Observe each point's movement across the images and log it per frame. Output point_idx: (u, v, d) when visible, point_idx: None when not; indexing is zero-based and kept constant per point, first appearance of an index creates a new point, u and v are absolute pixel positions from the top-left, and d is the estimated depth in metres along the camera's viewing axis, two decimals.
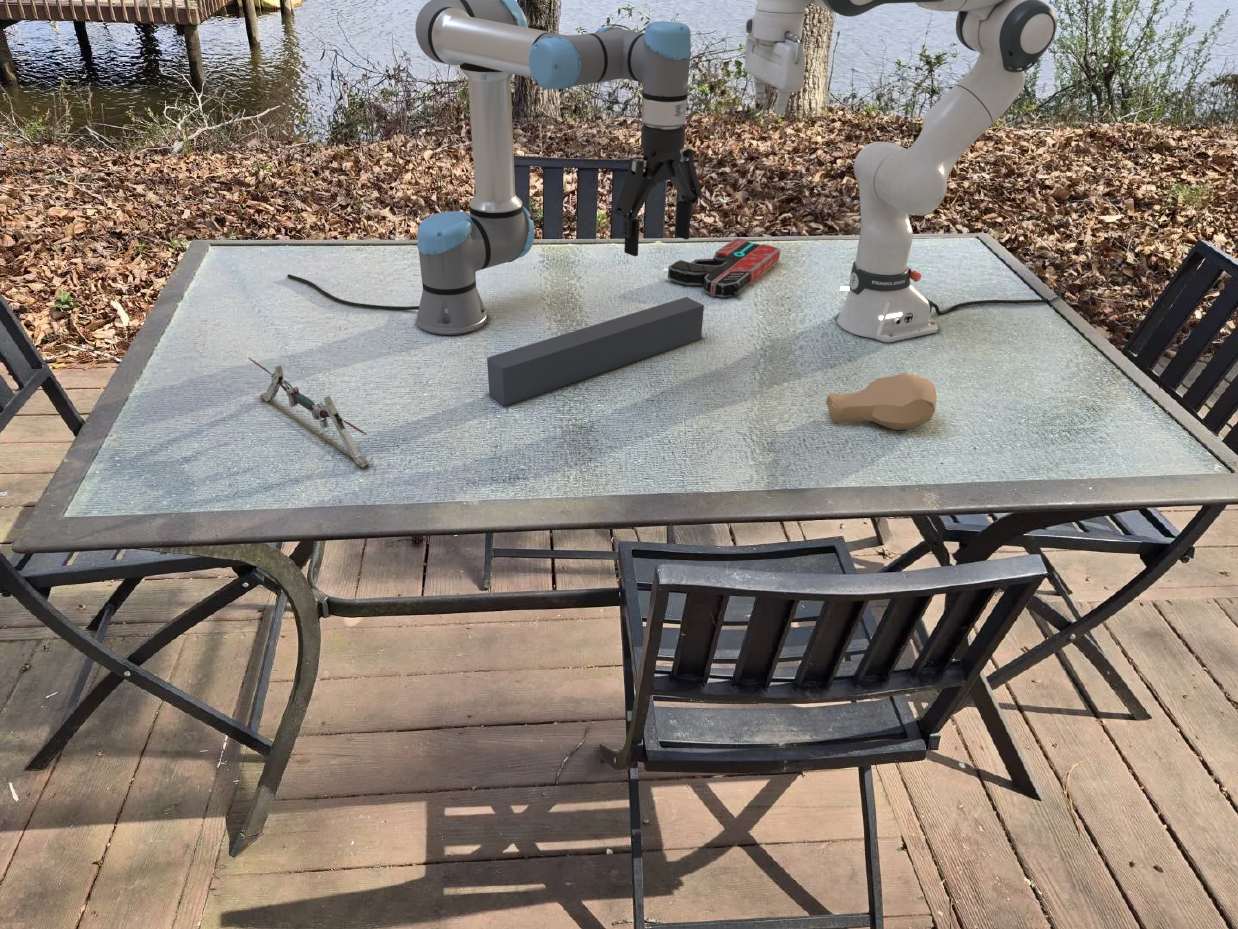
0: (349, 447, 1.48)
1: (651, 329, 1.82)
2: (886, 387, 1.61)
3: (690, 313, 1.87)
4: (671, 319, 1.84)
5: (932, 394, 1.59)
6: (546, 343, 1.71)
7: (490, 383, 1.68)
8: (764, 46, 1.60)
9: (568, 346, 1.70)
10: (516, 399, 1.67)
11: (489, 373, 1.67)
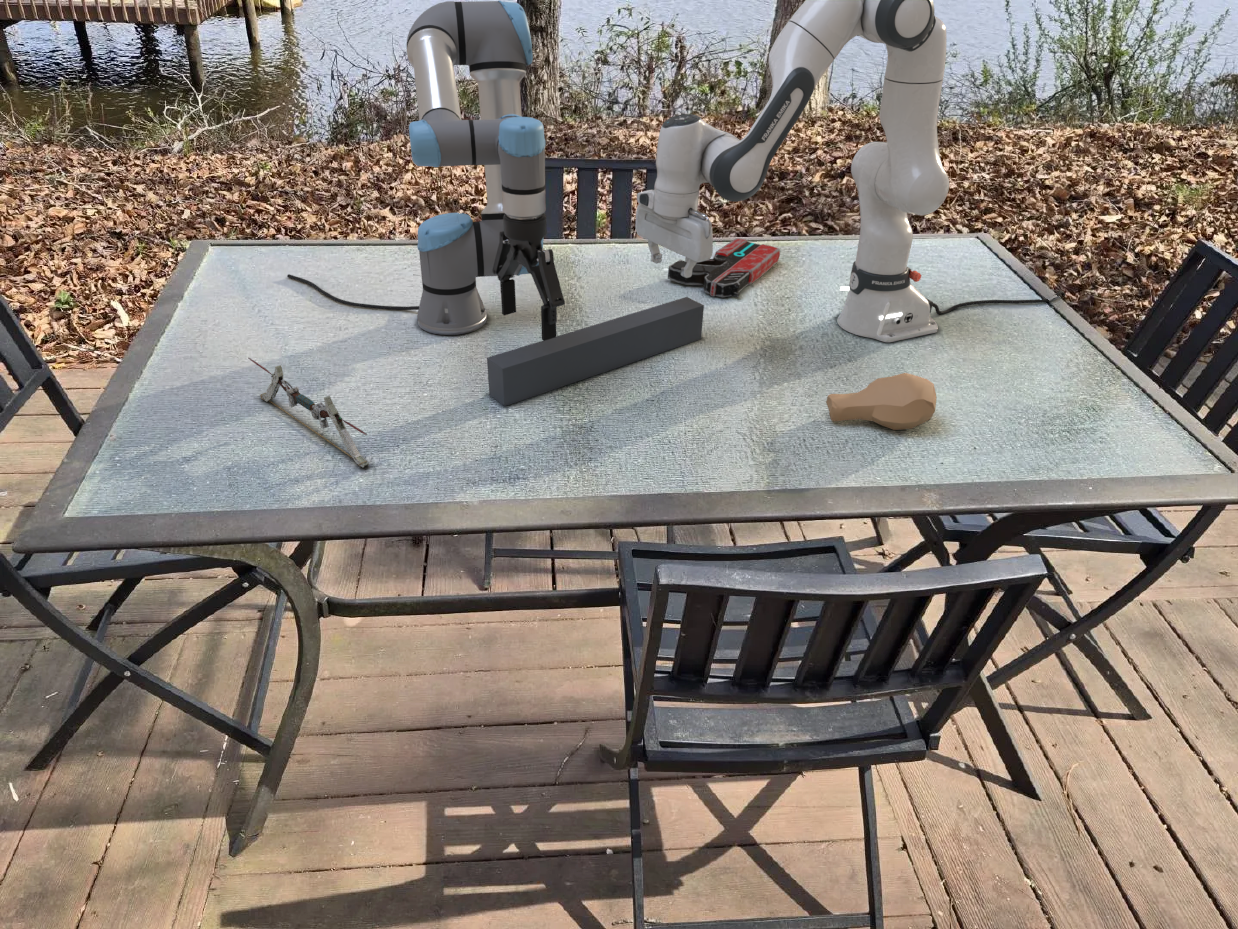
0: (349, 447, 1.48)
1: (651, 329, 1.82)
2: (886, 387, 1.61)
3: (690, 313, 1.87)
4: (671, 319, 1.84)
5: (932, 394, 1.59)
6: (546, 343, 1.71)
7: (490, 383, 1.68)
8: (668, 220, 1.73)
9: (568, 346, 1.70)
10: (516, 399, 1.67)
11: (489, 373, 1.67)
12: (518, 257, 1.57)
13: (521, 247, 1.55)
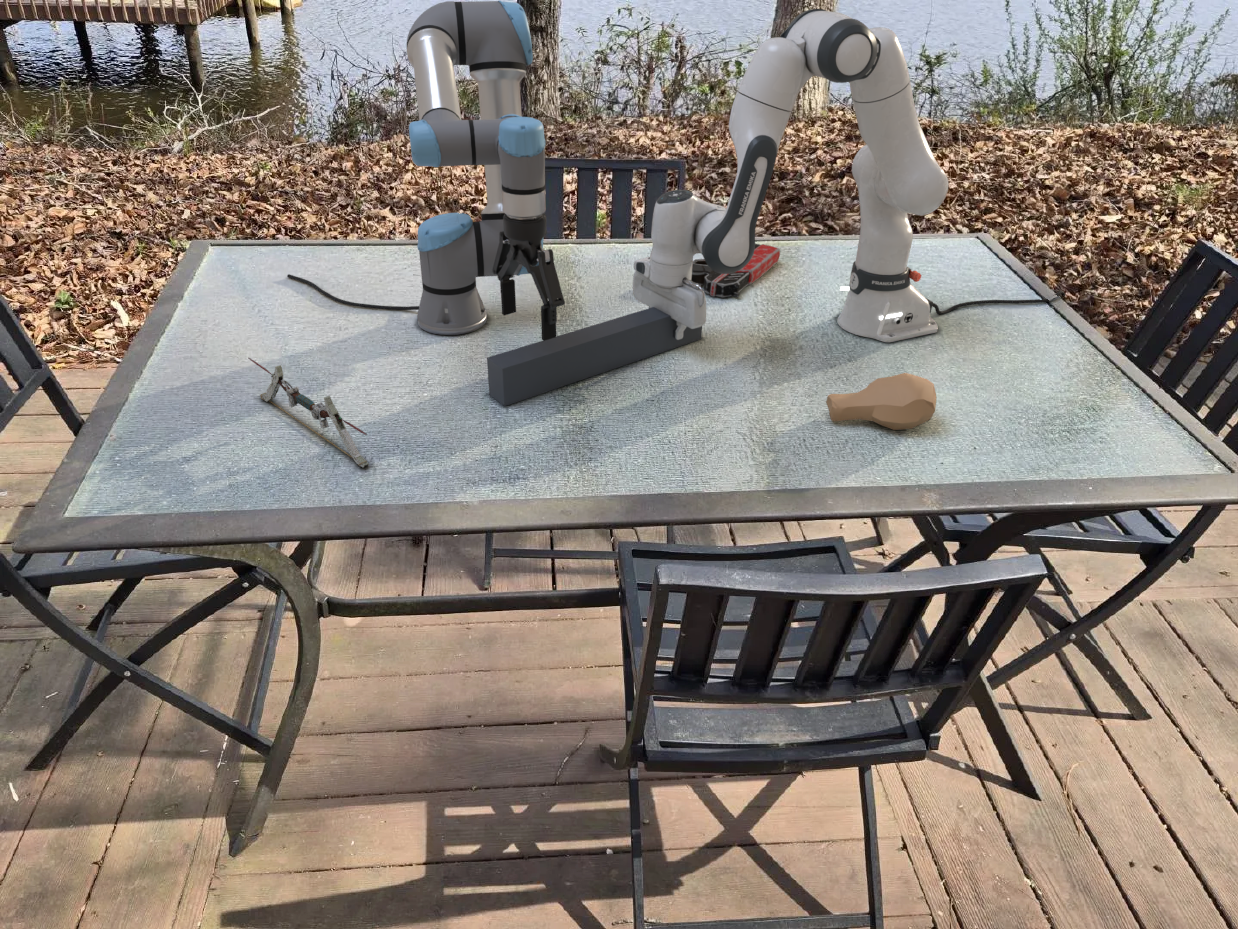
0: (349, 447, 1.48)
1: (651, 329, 1.82)
2: (886, 387, 1.61)
3: None
4: (671, 319, 1.84)
5: (932, 394, 1.59)
6: (546, 343, 1.71)
7: (490, 383, 1.68)
8: (663, 289, 1.81)
9: (568, 346, 1.70)
10: (516, 399, 1.67)
11: (489, 373, 1.67)
12: (518, 257, 1.57)
13: (521, 247, 1.55)
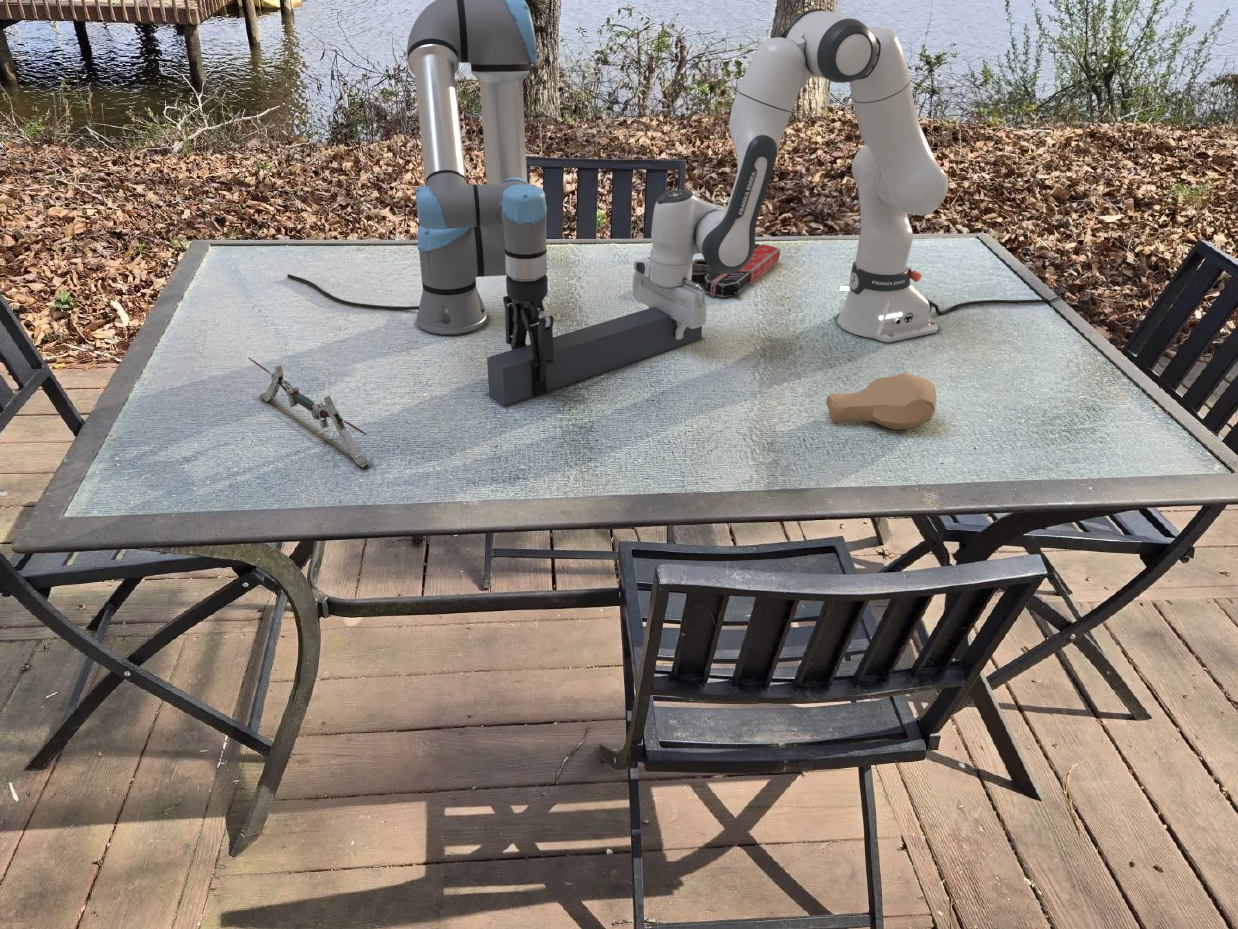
0: (349, 447, 1.48)
1: (651, 329, 1.82)
2: (886, 387, 1.61)
3: None
4: (671, 319, 1.84)
5: (932, 394, 1.59)
6: None
7: (490, 383, 1.68)
8: (663, 289, 1.81)
9: (568, 346, 1.70)
10: (516, 399, 1.67)
11: (489, 373, 1.67)
12: (520, 315, 1.63)
13: (523, 306, 1.61)
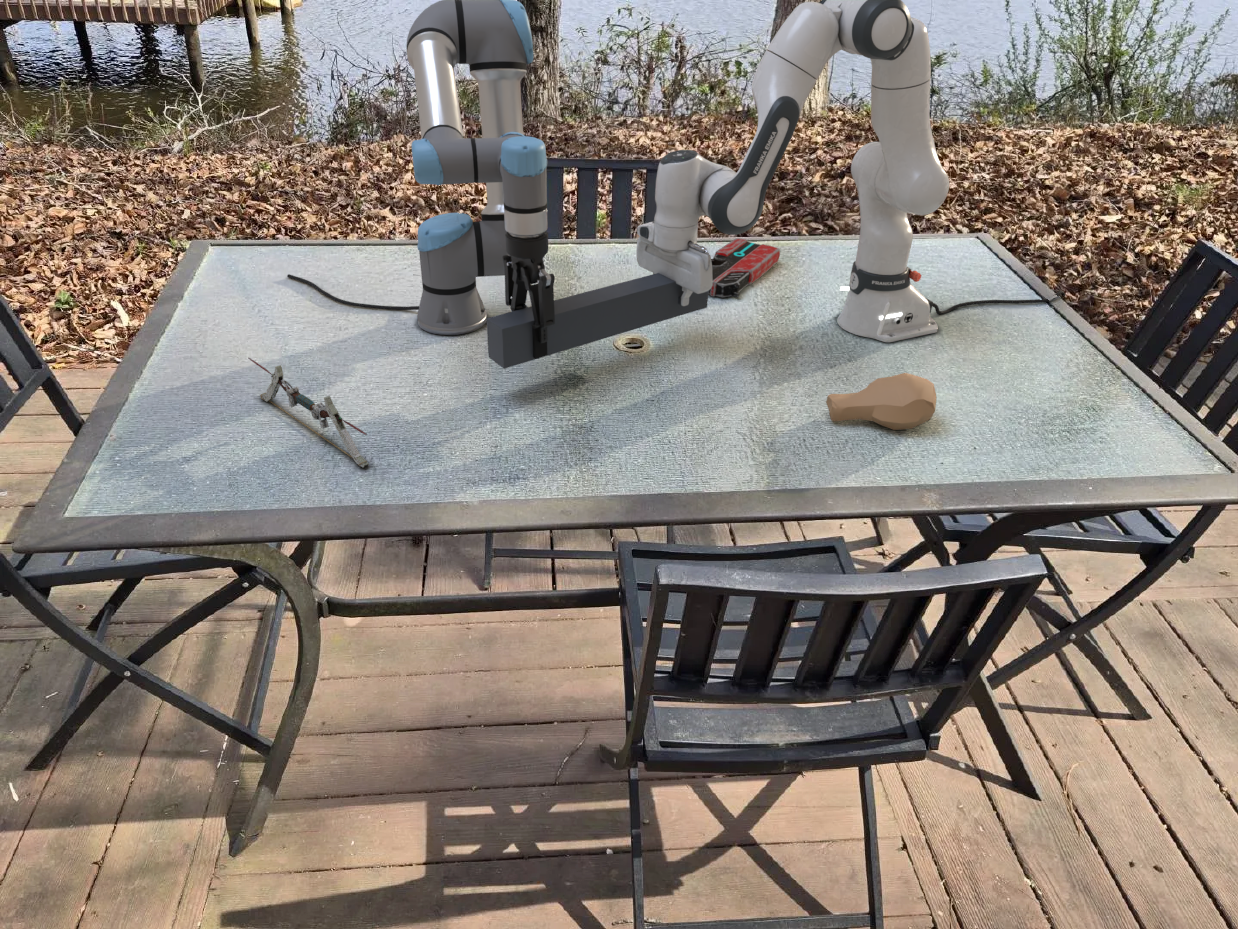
0: (349, 447, 1.48)
1: (656, 295, 1.77)
2: (886, 387, 1.61)
3: None
4: (676, 285, 1.79)
5: (932, 394, 1.59)
6: None
7: (489, 345, 1.63)
8: (668, 253, 1.76)
9: (570, 309, 1.65)
10: (516, 362, 1.63)
11: (488, 334, 1.62)
12: (520, 274, 1.59)
13: (523, 264, 1.57)
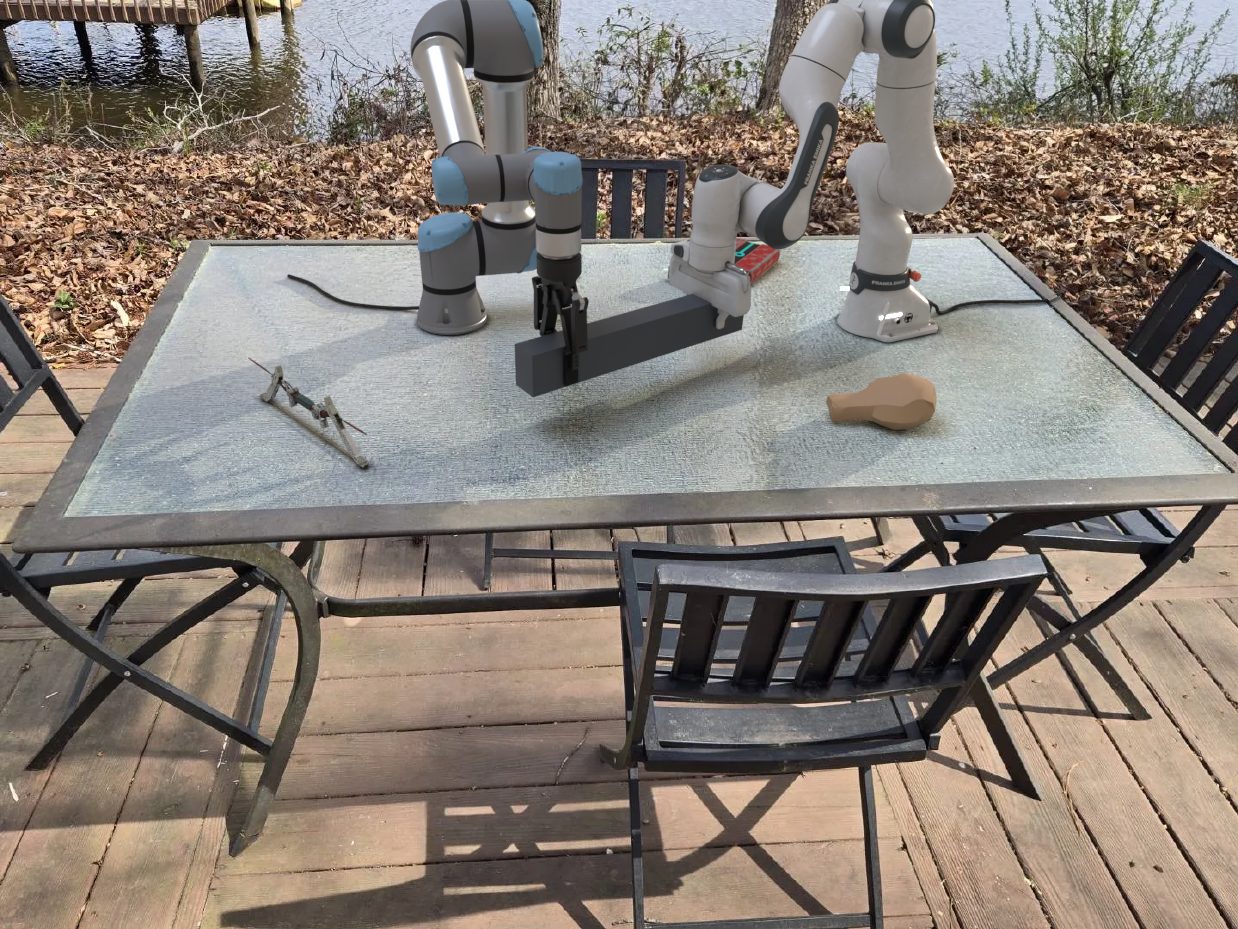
0: (349, 447, 1.48)
1: (691, 318, 1.68)
2: (886, 387, 1.61)
3: None
4: (712, 307, 1.70)
5: (932, 394, 1.59)
6: None
7: (517, 372, 1.54)
8: (704, 274, 1.67)
9: (602, 333, 1.56)
10: (545, 390, 1.53)
11: (516, 361, 1.52)
12: (551, 297, 1.49)
13: (555, 287, 1.47)
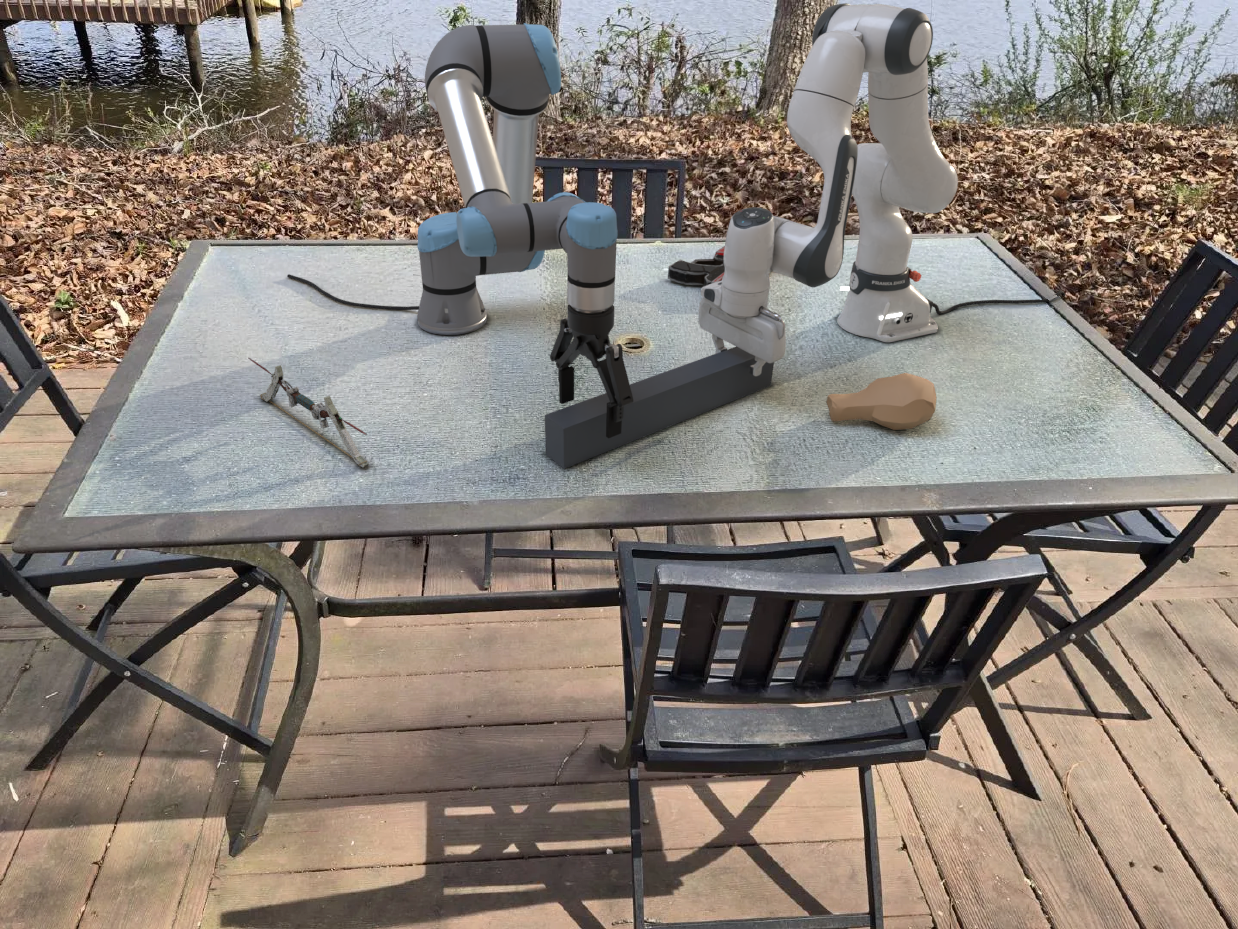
0: (349, 447, 1.48)
1: (721, 378, 1.65)
2: (886, 387, 1.61)
3: None
4: (741, 366, 1.67)
5: (932, 394, 1.59)
6: None
7: (547, 443, 1.51)
8: (737, 319, 1.62)
9: None
10: (576, 460, 1.50)
11: (547, 432, 1.50)
12: (582, 349, 1.44)
13: (586, 339, 1.42)
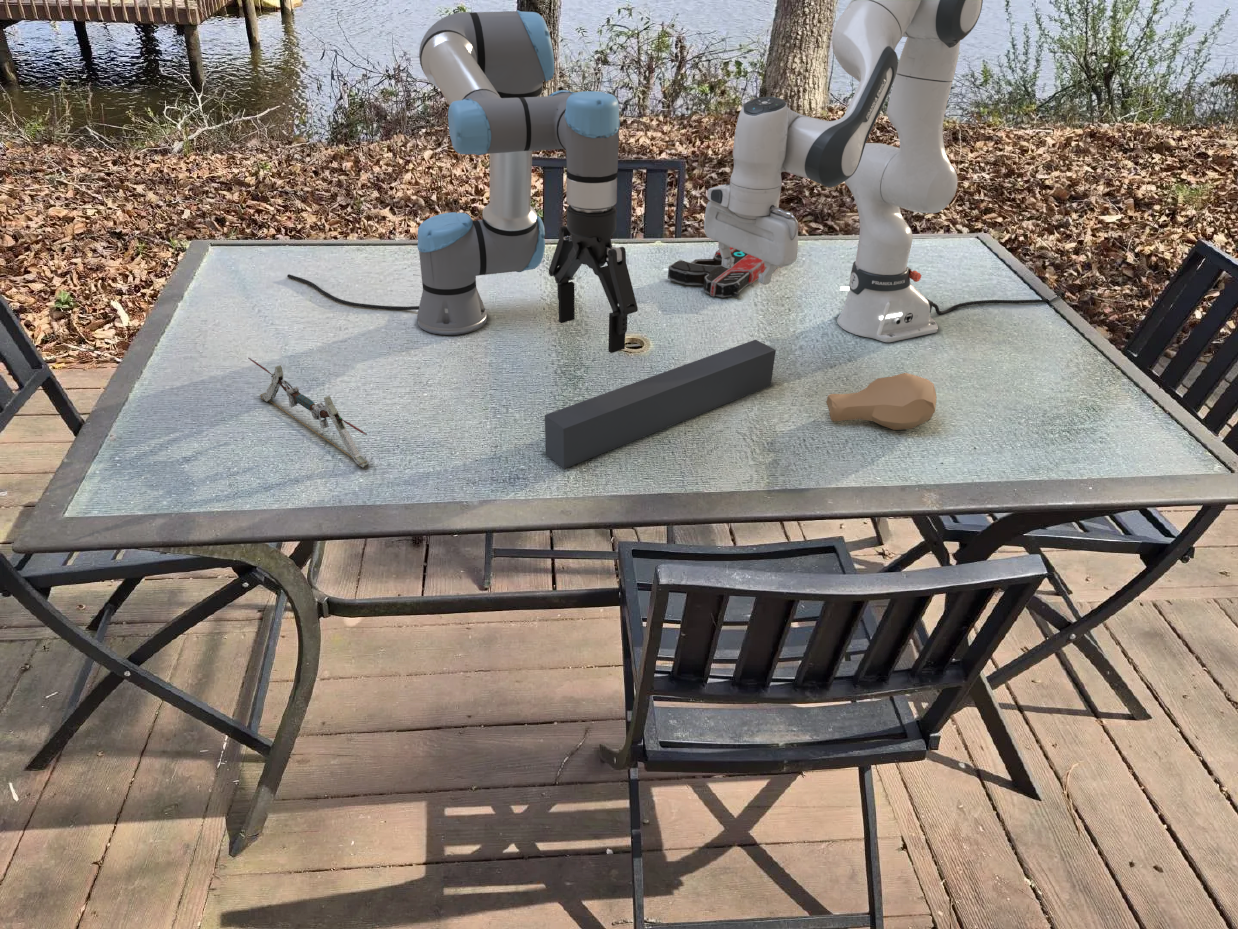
0: (349, 447, 1.48)
1: (721, 378, 1.65)
2: (886, 387, 1.61)
3: (761, 359, 1.70)
4: (741, 366, 1.67)
5: (932, 394, 1.59)
6: (608, 397, 1.54)
7: (547, 443, 1.51)
8: (746, 220, 1.51)
9: (633, 400, 1.53)
10: (576, 460, 1.50)
11: (547, 432, 1.50)
12: (582, 256, 1.35)
13: (587, 244, 1.33)
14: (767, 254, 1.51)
